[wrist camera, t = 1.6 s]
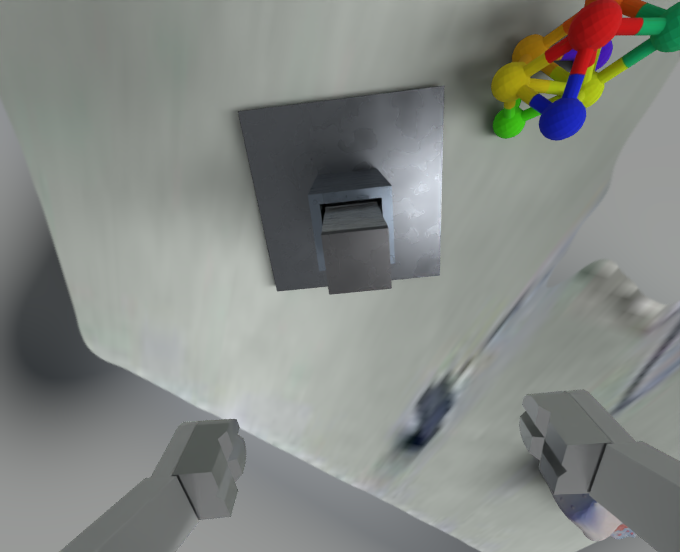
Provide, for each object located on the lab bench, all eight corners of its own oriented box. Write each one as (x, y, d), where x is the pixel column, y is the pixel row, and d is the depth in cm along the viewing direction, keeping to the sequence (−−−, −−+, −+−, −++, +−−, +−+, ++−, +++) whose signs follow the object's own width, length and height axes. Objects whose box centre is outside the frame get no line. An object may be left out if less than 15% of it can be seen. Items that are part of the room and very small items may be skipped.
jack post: (328, 186, 34) (320, 234, 19) (367, 181, 34) (389, 227, 19) (333, 223, 36) (328, 295, 21) (370, 219, 36) (392, 289, 21)
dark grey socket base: (242, 112, 33) (194, 105, 22) (439, 87, 32) (491, 68, 21) (279, 285, 41) (257, 343, 30) (436, 270, 40) (471, 323, 30)
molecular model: (496, 147, 34) (569, 154, 24) (461, 87, 32) (524, 66, 21) (601, 66, 31) (736, 32, 21) (571, -6, 29) (706, -85, 18)
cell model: (629, 499, 43) (723, 533, 47) (573, 429, 53) (656, 463, 57) (559, 547, 48) (650, 574, 52) (520, 475, 57) (600, 503, 62)
